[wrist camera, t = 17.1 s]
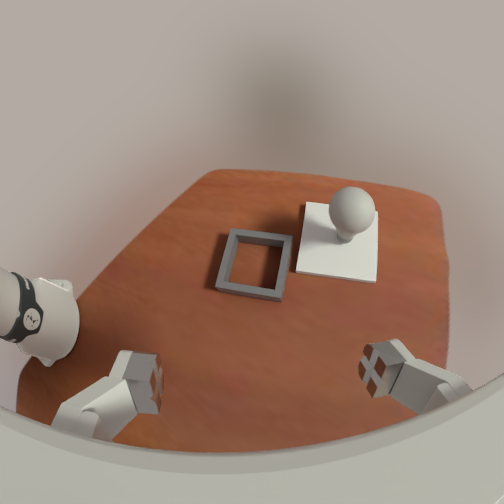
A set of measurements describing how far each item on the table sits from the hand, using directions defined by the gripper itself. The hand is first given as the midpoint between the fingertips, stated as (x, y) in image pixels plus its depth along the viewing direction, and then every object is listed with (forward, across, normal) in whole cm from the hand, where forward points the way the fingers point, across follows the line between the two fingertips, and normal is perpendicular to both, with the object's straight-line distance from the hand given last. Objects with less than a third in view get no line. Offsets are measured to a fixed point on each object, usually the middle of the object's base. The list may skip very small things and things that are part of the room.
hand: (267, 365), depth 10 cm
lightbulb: (+30, -17, +3) cm, 34 cm away
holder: (+31, -4, +8) cm, 32 cm away
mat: (+30, -16, +4) cm, 35 cm away
